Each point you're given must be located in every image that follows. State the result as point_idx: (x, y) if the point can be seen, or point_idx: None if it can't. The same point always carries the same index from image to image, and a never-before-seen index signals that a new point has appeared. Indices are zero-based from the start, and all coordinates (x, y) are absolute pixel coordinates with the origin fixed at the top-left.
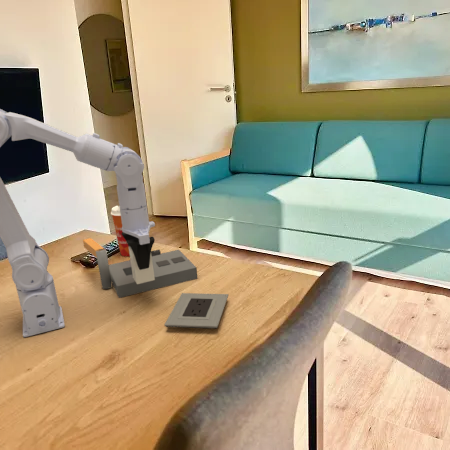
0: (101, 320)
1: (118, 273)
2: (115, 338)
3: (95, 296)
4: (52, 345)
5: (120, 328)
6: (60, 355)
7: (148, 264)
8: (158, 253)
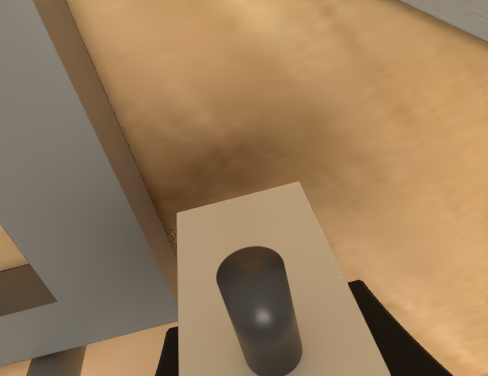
0: None
1: (19, 336)
2: (482, 244)
3: (144, 342)
4: None
5: (430, 238)
6: (471, 343)
7: (380, 303)
8: (287, 279)
